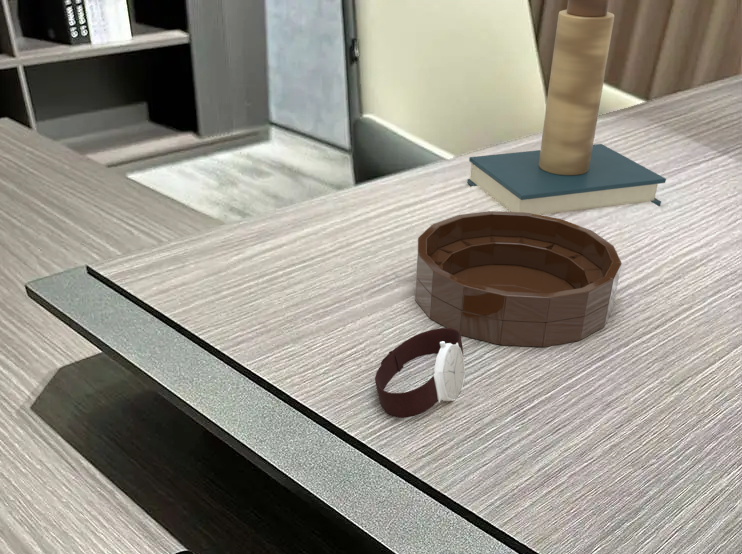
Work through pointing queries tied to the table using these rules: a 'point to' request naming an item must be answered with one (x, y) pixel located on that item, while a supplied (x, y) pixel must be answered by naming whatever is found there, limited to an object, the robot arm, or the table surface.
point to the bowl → (516, 278)
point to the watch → (439, 387)
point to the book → (563, 182)
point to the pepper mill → (575, 86)
